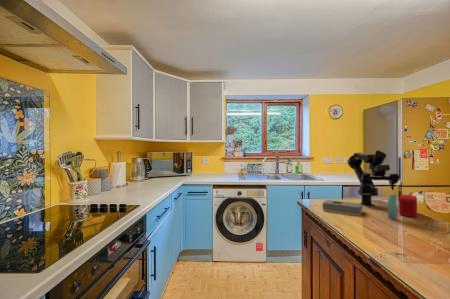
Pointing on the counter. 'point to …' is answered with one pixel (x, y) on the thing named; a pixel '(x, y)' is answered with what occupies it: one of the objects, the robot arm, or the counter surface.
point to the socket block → (343, 207)
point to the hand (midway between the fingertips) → (383, 189)
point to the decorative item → (408, 205)
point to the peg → (392, 206)
